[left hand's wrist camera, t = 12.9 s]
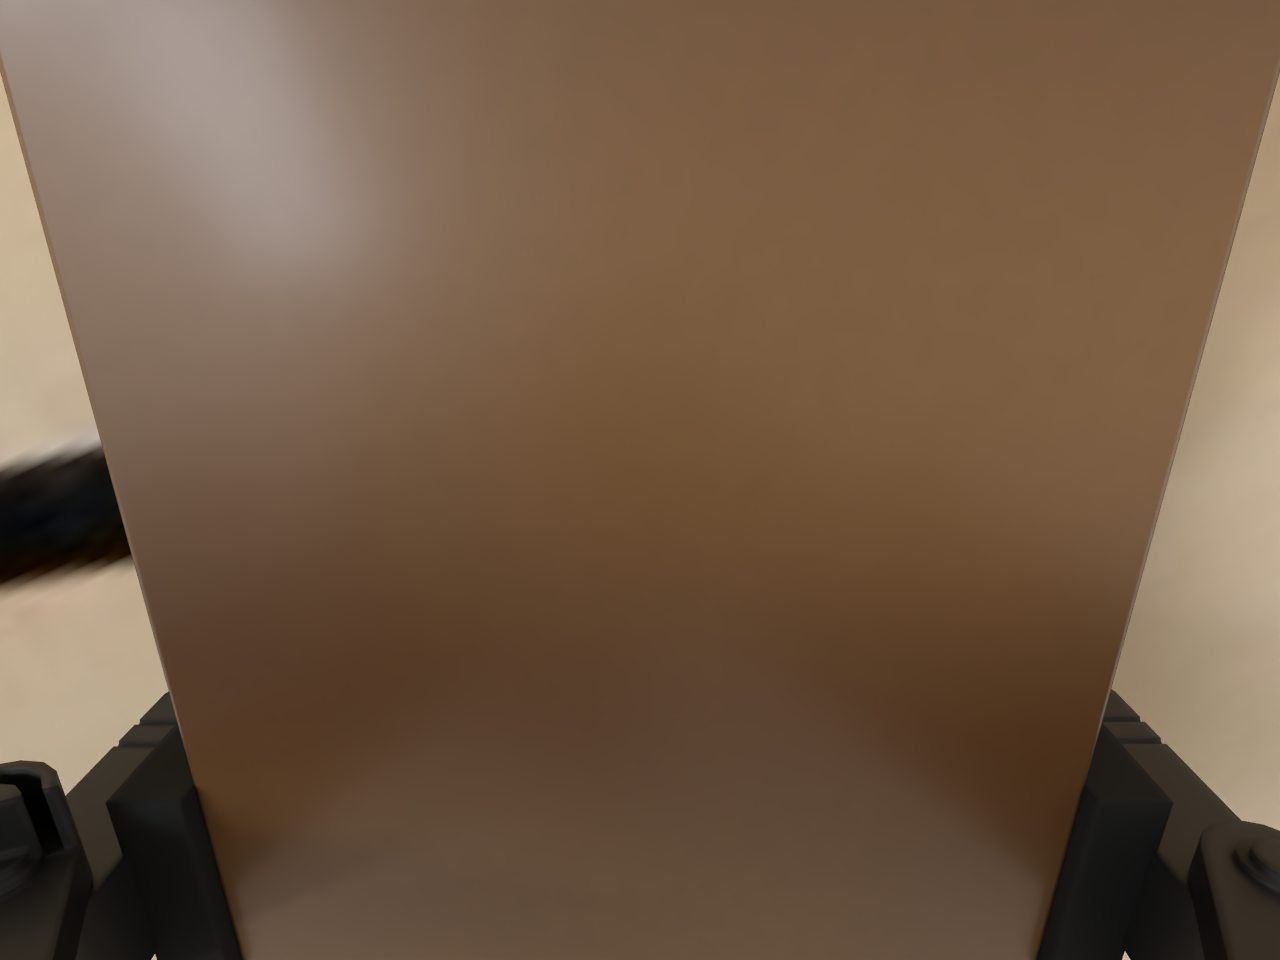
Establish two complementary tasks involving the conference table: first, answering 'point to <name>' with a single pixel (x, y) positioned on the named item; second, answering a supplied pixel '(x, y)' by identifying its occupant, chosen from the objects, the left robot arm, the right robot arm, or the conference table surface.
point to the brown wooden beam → (639, 440)
